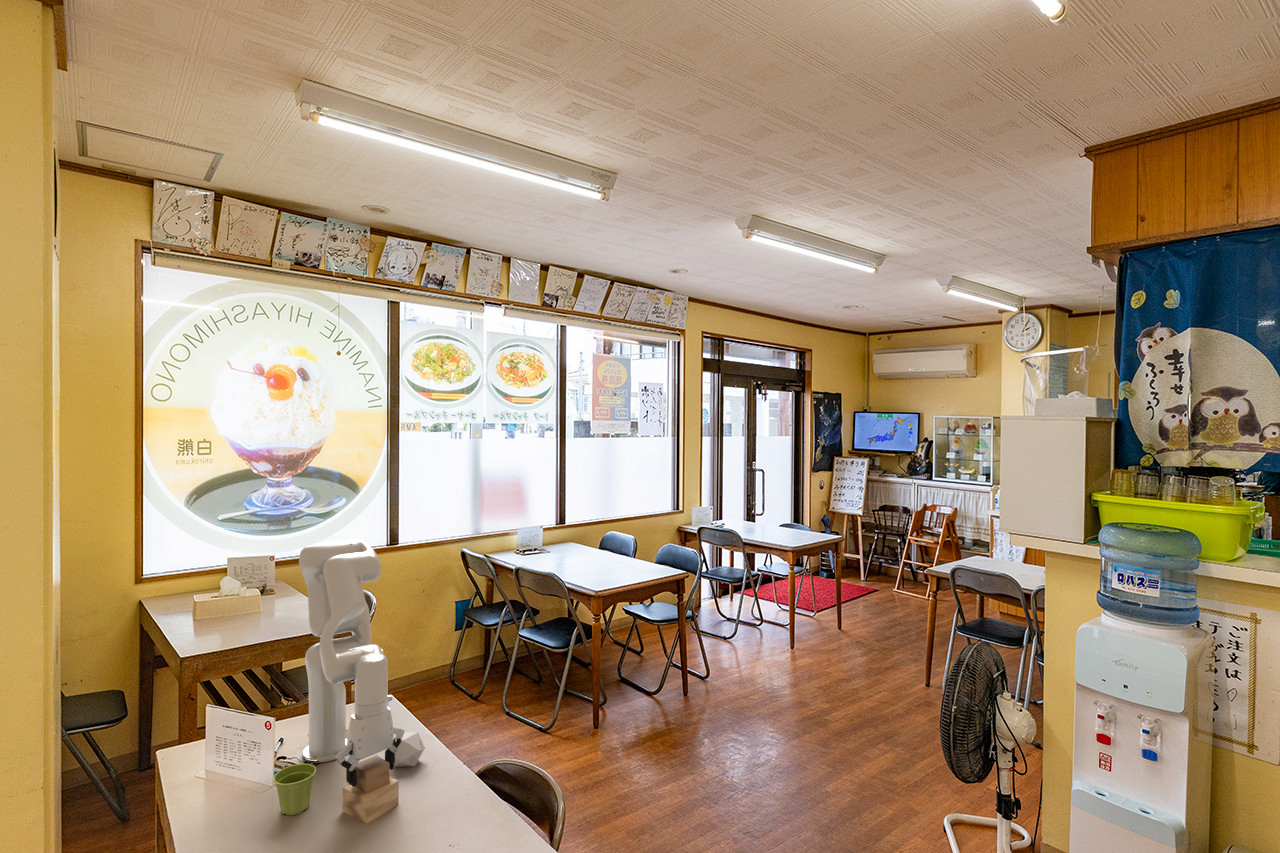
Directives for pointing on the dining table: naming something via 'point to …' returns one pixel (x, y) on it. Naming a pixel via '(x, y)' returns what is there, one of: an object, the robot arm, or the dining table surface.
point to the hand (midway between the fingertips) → (371, 775)
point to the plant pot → (294, 787)
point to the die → (409, 749)
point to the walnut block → (372, 774)
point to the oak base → (370, 801)
